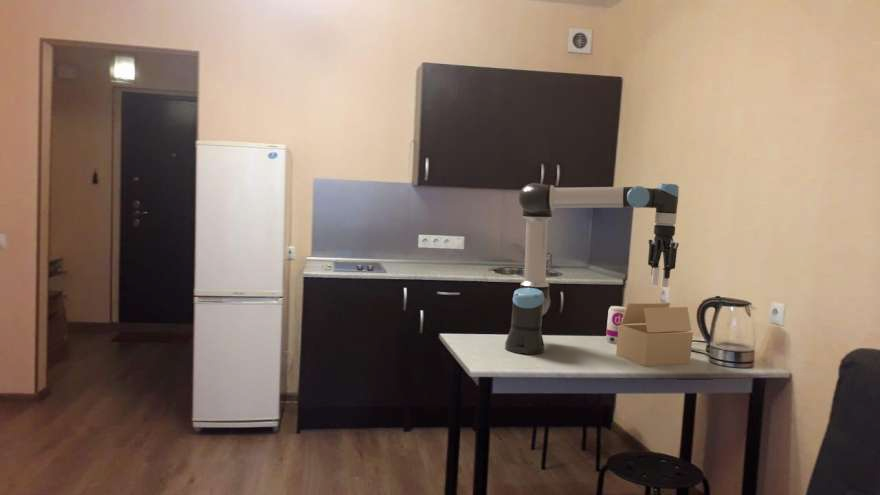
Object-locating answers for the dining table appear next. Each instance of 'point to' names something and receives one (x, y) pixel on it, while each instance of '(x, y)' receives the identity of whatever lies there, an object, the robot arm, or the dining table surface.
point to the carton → (653, 346)
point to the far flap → (639, 312)
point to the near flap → (667, 319)
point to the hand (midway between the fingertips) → (659, 285)
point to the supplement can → (614, 323)
